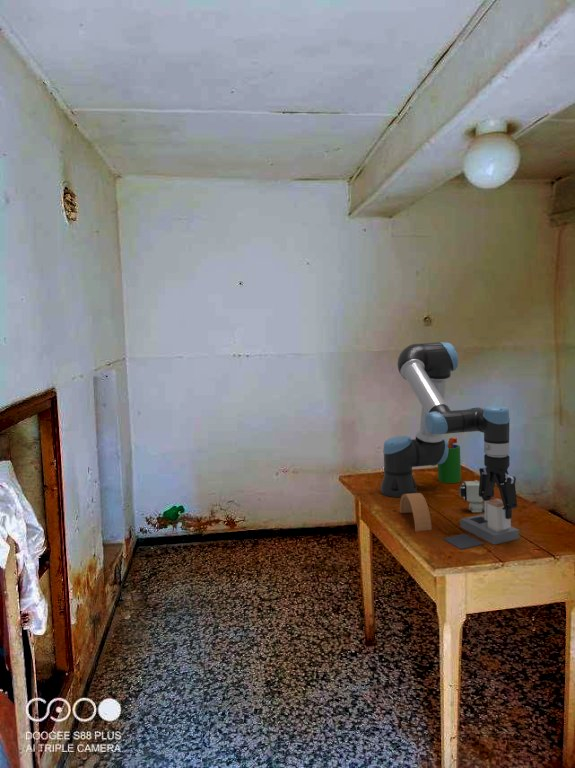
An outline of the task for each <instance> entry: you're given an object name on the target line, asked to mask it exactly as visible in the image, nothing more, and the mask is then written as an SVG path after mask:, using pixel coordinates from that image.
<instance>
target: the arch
mask: <svg viewBox="0 0 575 768" xmlns="http://www.w3.org/2000/svg"><path fill="white" fill-rule="evenodd" d="M424 496H425V495H423V494H422V493H421V492H417V493H411V494H403V495H402V497H400V500H399V513H400V514H406V513H407V514H408V513H412V515H413V521H414V532H415V533H419V531H423V532H424V531H432V529H433V527H432V519H431V518H432V517H431V514H430V510H429V506H428V504H427V501H426V498H425V497H424Z"/></svg>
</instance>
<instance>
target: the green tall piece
mask: <svg viewBox="0 0 575 768" xmlns="http://www.w3.org/2000/svg"><path fill="white" fill-rule="evenodd" d="M447 443H448V449H449V451H448V457H447V459H446V461H445V462H444V463H442V464H438V465H437V480H438V482H440V483H443V484H444V483H445V484H456V483H460V482H462V468H461V463H462V462H461V445H459V444H457V443H458V439H457V438H456V437H454V436H453V437H450V438H448V441H447Z"/></svg>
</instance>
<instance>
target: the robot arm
mask: <svg viewBox="0 0 575 768" xmlns="http://www.w3.org/2000/svg"><path fill="white" fill-rule="evenodd" d="M458 365H459V357H458V353H457V351H456V348H455V346H454V345H453V344H452V343H450V342H441V341H438V342H425V343H413V344H410V345H408V346H406V347H404V349H403V350H402V351H400V354H399V356H398V359H397V370H398V373H399V375H400V376H401V378H402V379H404V380H405V381H407V383H408V384H409V386H410V388H411V389H412V391H413V393H414V395H415V396H416V398H417V399H418V401H419V404H420V405H421V413H420V424H419V425H420V426H419V430H418V431H417V432H416V433H415V438H413V439H412V438H411V436H407V435H404V436H401V435H399V436H393V437H391V438H388V439H386V440H385V441H384V443H383V450H382V452H383V469H384V471H383V472H384V473H383V478H382V481H381V485H380V493H381V494H383V495H384V496H387V497H393V498H401V497H402V495H403V494H411V493H418V487H417V484H416V481H415V478H414V476H413V468H414V467H415V468H416V467H425V466H426V467H428V466H433V467H434V466H438V464H442V463H444V462H445V461H446V459H447V457H448V451H449V449H448V441H447V439H446V438H445V436H444V435H446V434H457V433H458V434H459V433H470V432H471V433H472V432H480V433H483V441H484V442H483V444H484V445H483V452H484V455H483V459H484V460H483V462H484V463H483V465H484V467H481V468H479V471H478V472H479V481H480V482H479V497H482V499H483V500H484V501H483V504H484V514H485V520H486V521H487V520H488V517H487V500H489V499H490V500H493V497H491V495H492V492H493V489H495V485H496V487H497V488H498V490H499V493H500V497H501V500H502V502H503V505H504V508H502V528H503V529H506V528H510V527H511V526H512V525H511V523H512V522H511V521H512V518H513V513H512V512H513V509H516V508H518V500H517V491H516V490H517V489H516V481H517V478H516V477H515V476H512V475H509V472H508V469H509V467H510V461H511V460H510V421H511V420H510V419H511V418H510V410H509V408H508V407H507V406H502V405H488V406H485V407H484V408H482V407H474V406H473V407H469V408H467V409H456V410H452V409H450V407H449V406H448V404H447V403H446V401H445V394H446V385H447V380H448V379H450V378H451V373H452V372H455V370H457V368H458ZM482 492H483V493H482Z"/></svg>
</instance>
